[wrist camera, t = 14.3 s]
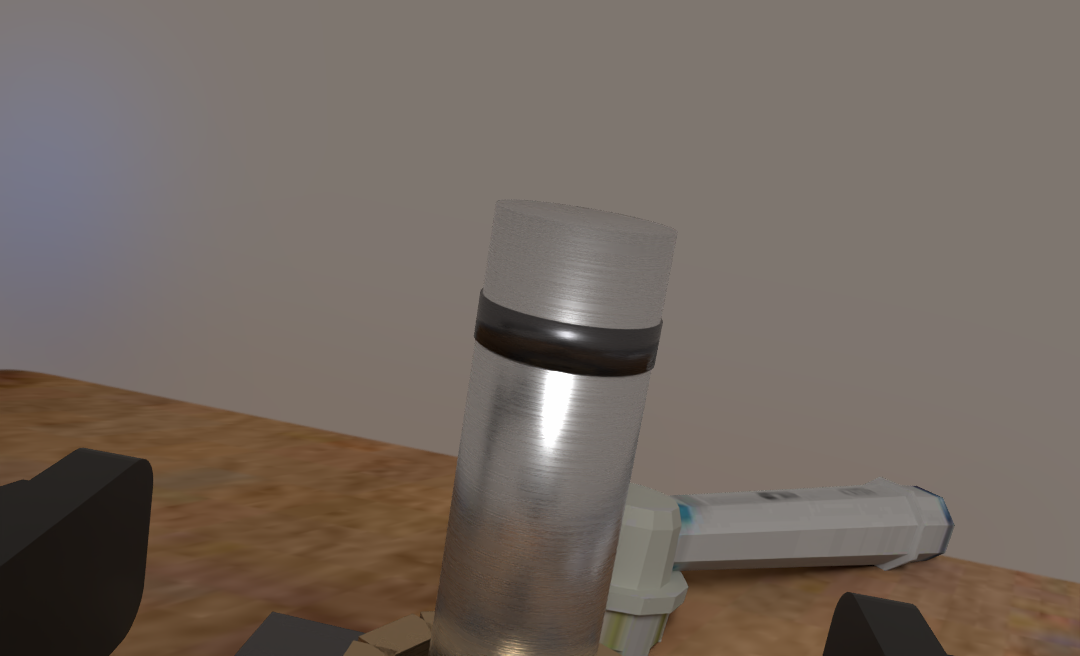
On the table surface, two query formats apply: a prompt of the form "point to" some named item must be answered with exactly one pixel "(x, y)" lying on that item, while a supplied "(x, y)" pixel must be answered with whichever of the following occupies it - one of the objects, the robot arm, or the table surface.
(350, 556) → the table surface
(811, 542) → the grey faceted piece
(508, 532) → the silver tall cylinder
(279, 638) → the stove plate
